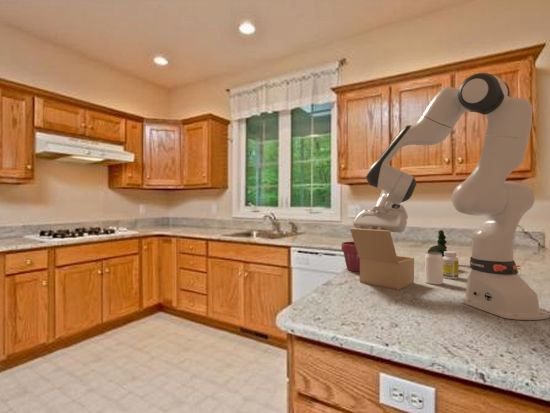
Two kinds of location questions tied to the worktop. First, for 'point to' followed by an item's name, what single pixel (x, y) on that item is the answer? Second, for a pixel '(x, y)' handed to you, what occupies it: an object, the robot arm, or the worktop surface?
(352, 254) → the plant pot
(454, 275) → the pill bottle
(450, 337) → the worktop surface
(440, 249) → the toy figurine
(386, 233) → the flap
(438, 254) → the can
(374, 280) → the carton
